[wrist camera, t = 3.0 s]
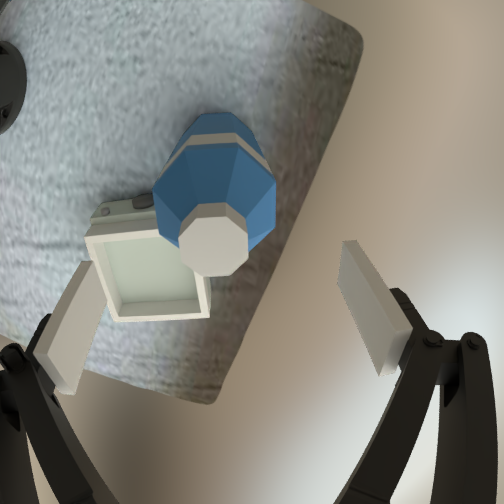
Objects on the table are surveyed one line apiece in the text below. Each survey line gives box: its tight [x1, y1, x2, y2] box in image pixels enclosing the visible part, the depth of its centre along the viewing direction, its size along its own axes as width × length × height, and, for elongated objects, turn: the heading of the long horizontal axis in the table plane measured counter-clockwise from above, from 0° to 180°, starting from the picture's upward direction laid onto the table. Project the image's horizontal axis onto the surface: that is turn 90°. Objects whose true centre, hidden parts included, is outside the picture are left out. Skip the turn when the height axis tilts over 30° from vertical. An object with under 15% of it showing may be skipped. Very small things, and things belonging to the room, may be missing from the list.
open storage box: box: [84, 194, 211, 322], centre depth 43 cm, size 17×14×8 cm
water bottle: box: [152, 112, 276, 277], centre depth 29 cm, size 9×9×25 cm
